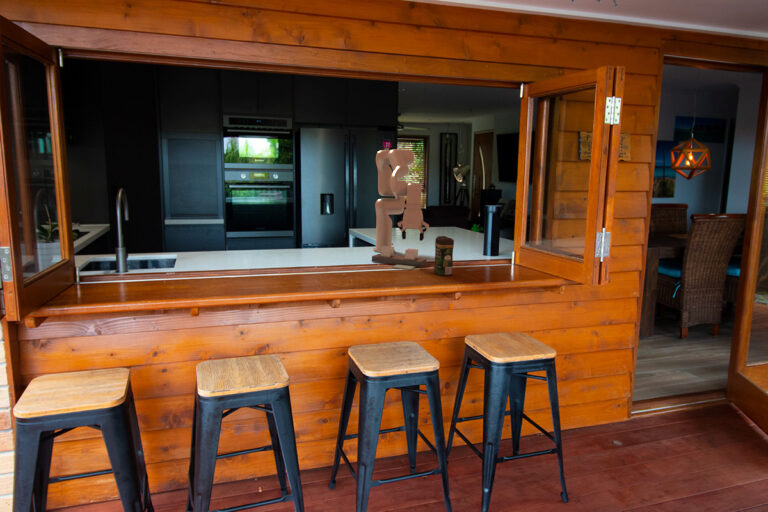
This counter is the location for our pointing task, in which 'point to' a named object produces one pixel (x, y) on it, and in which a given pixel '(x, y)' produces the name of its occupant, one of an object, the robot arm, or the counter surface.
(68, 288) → the counter surface
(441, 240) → the coffee jar
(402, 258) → the board with square holes
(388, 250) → the brown wooden block
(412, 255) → the pale pink rectangular block
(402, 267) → the mat
